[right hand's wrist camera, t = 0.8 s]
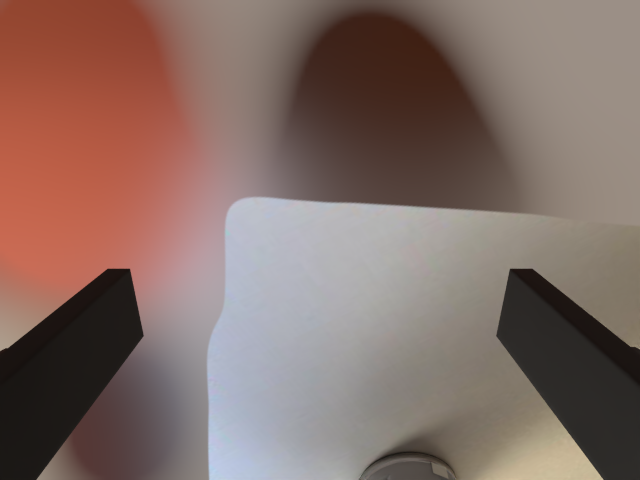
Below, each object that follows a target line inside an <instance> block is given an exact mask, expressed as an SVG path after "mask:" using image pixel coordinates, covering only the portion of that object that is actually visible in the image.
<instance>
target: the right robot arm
mask: <svg viewBox="0 0 640 480" xmlns="http://www.w3.org/2000/svg"><path fill="white" fill-rule="evenodd" d="M496 336H497V337H498V339H499V340H500V341H501V343H502V344H503V345H504V347H505V348H506V349H507V351H508V352H509V354H510V355H511V356H512V358H513V359H514V360H515V362H516V363H517V364H518V366H519V367H520V368H521V370H522V371H523V372H524V374H525V375H526V376H527V378H528V379H529V380H530V382H531V383H532V384H533V386H534V387H535V388H536V390H537V391H538V392H539V394H540V395H541V396H542V398H543V399H544V400H545V402H546V403H547V404H548V406H549V407H550V408H551V410H552V411H553V412H554V414H555V415H556V416H557V418H558V419H559V420H560V422H561V423H562V424H563V426H564V427H565V429H566V430H567V431H568V433H569V434H570V435H571V437H572V438H573V439H574V441H575V442H576V443H577V445H578V446H579V447H580V449H581V450H582V451H583V453H584V454H585V455H586V457H587V458H588V459H589V461H590V462H591V463H592V465H593V466H594V467H595V469H596V470H597V471H598V473H599V474H600V475H601V477H602V478H603V479H604V480H640V350H639V349H637V348H636V347H630V346H629V345H627V344H626V343H625V342H624V341H622V340H621V339H620V338H619V337H617V336H616V335H615V334H613V333H612V332H611V331H610V330H608V329H607V328H606V327H605V326H603V325H602V324H601V323H600V322H598V321H597V320H596V319H595V318H593V317H592V316H591V315H590V314H588V313H587V312H586V311H585V310H583V309H582V308H581V307H580V306H578V305H577V304H576V303H575V302H573V301H572V300H571V299H570V298H568V297H567V296H566V295H565V294H563V293H562V292H561V291H560V290H558V289H557V288H556V287H554V286H553V285H552V284H551V283H549V282H548V281H547V280H546V279H544V278H543V277H542V276H541V275H539V274H538V273H537V272H536V271H534V270H533V269H510V272H509V277H508V281H507V286H506V291H505V296H504V301H503V306H502V311H501V316H500V321H499V325H498V330H497V335H496ZM142 337H143V330H142V326H141V321H140V316H139V311H138V306H137V301H136V296H135V291H134V286H133V281H132V277H131V272H130V269H107V270H106V271H104V272H103V273H102V274H101V275H99V276H98V277H97V278H96V279H94V280H93V281H92V282H91V283H89V284H88V285H87V286H86V287H84V288H83V289H82V290H81V291H79V292H78V293H77V294H75V295H74V296H73V297H72V298H70V299H69V300H68V301H67V302H66V303H64V304H63V305H62V306H60V307H59V308H58V309H57V310H55V311H54V312H53V313H52V314H50V315H49V316H48V317H47V318H45V319H44V320H43V321H42V322H40V323H39V324H38V325H37V326H35V327H34V328H33V329H32V330H30V331H29V332H28V333H27V334H25V335H24V336H23V337H22V338H20V339H19V340H18V341H17V342H15V343H14V344H13V345H11V346H10V347H9V348H5V349H4V350H2V351H0V480H36V479H37V478H38V477H39V475H40V474H41V473H42V471H43V470H44V469H45V467H46V466H47V465H48V463H49V462H50V461H51V459H52V458H53V457H54V455H55V454H56V453H57V451H58V450H59V449H60V447H61V446H62V445H63V443H64V442H65V441H66V439H67V438H68V437H69V435H70V434H71V433H72V431H73V430H74V429H75V427H76V426H77V424H78V423H79V422H80V420H81V419H82V418H83V416H84V415H85V414H86V412H87V411H88V410H89V408H90V407H91V406H92V404H93V403H94V402H95V400H96V399H97V398H98V396H99V395H100V394H101V392H102V391H103V390H104V388H105V387H106V386H107V384H108V383H109V382H110V380H111V379H112V378H113V376H114V375H115V374H116V372H117V371H118V370H119V368H120V367H121V365H122V364H123V363H124V362H125V360H126V359H127V358H128V356H129V355H130V354H131V352H132V351H133V349H134V348H135V347H136V345H137V344H138V343H139V341H140V340H141V339H142ZM359 480H456V477H455V474H454V472H453V471H452V469H451V468H450V467H449V466H448V465H447V464H446V463H445V462H443V461H442V460H440V459H438V458H436V457H433V456H430V455H427V454H422V453H400V454H395V455H391V456H388V457H385V458H383V459H381V460H379V461H377V462H375V463H374V464H372V465H371V466H370V467H369V468H367V469H366V470H365V472H364V473H363V474H362V476H361V477H360V479H359Z"/></svg>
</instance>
